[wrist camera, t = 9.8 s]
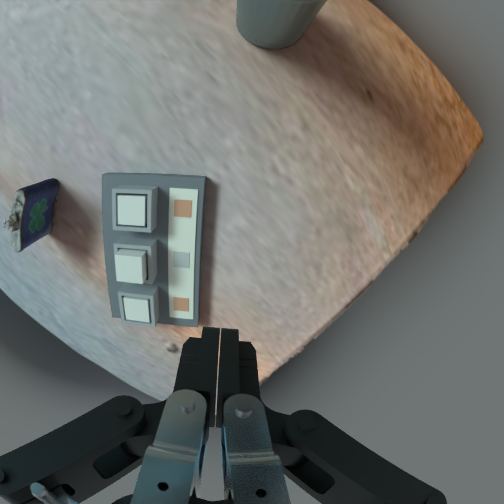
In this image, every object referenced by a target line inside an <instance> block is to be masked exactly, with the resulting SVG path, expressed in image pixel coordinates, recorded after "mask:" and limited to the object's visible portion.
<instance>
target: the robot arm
mask: <svg viewBox="0 0 504 504" xmlns="http://www.w3.org/2000/svg"><path fill="white" fill-rule="evenodd" d="M326 1H327V0H237V14H236V22H237V27H238V30H239V32H240V33H241V35H242V36H243V37H244V38H245V39H246V40H247V41H249V42H251V43H252V44H254V45H256V46H259V47H262V48H267V49H280V48H285V47H288V46H290V45H292V44H294V43H295V42H297V41H298V40H299V39H300V37H301V36H302V34H303V33H304V32H305V30H306V29H307V28H308V26H309V25H310V23H311V22H312V20H313V19H314V18H315V16H316V15H317V13H318V12H319V11H320V9H321V8H322V6H323V5H324V4H325V2H326ZM219 335H220V328H214V327H203V330H202V337H201V338H194V337H190V338H189V339H188V340H187V341H186V342H185V343H184V344H183V348H182V353H181V357H180V363H179V367H178V371H177V376H176V381H175V386H174V390H173V393H172V394H171V395H170V396H169V397H168V398H167V399H166V400H164V401H162V402H159V403H153V404H144V405H142V404H141V403H140V402H139V401H138V400H137V399H135V398H134V397H131V396H125V395H123V396H117V397H114V398H112V399H110V400H109V401H107V402H105V403H103V404H102V405H100V406H98V407H96V408H94V409H93V410H91V411H89V412H87V413H85V414H84V415H82V416H80V417H78V418H77V419H75V420H73V421H71V422H69V423H67V424H65V425H63V426H62V427H59V428H58V429H55V430H54V431H52V432H50V433H48V434H46V435H44V436H42V437H40V438H38V439H36V440H34V441H32V442H30V443H28V444H26V445H24V446H21V447H19V448H17V449H15V450H13V451H11V452H9V453H7V454H5V455H2V456H0V496H1V497H2V498H3V499H5V500H6V501H7V502H8V503H9V504H79V503H81V502H82V501H84V500H86V499H87V498H89V497H91V496H93V495H94V494H96V493H98V492H99V491H101V490H103V489H104V488H106V487H107V486H109V485H111V484H112V483H114V482H116V481H117V480H119V479H120V478H122V477H123V476H125V475H126V474H128V473H129V472H131V471H132V470H134V469H135V468H137V467H138V466H140V465H141V464H142V465H141V469H140V472H139V475H138V479H137V482H136V486H135V489H134V493H133V494H131V495H128V496H125V497H123V498H120V499H118V500H116V501H115V502H113V503H112V504H291V503H290V499H289V495H288V490H287V486H286V482H285V477H284V474H285V475H286V476H287V477H288V478H290V479H291V480H292V481H293V482H295V483H296V484H297V485H298V486H299V487H301V488H302V489H303V490H305V491H306V492H307V493H309V494H310V495H311V496H312V497H314V498H315V499H316V500H318V501H319V502H320V503H322V504H447V501H446V498H445V496H444V494H443V493H442V492H440V491H439V490H437V489H435V488H433V487H432V486H430V485H428V484H426V483H424V482H422V481H421V480H418V479H417V478H415V477H414V476H412V475H410V474H408V473H407V472H405V471H403V470H402V469H400V468H398V467H397V466H395V465H393V464H392V463H390V462H389V461H387V460H385V459H384V458H382V457H381V456H379V455H377V454H376V453H374V452H373V451H371V450H370V449H368V448H367V447H365V446H364V445H362V444H361V443H359V442H358V441H356V440H355V439H353V438H352V437H351V436H349V435H347V434H346V433H345V432H343V431H342V430H341V429H339V428H338V427H336V426H335V425H334V424H332V423H331V422H329V421H328V420H327V419H325V418H324V417H322V416H321V415H320V414H318V413H316V412H314V411H311V410H299V411H296V412H294V413H292V414H291V415H286V414H282V413H278V412H275V411H273V410H271V409H269V408H268V407H266V406H265V405H264V403H263V402H262V400H261V398H260V391H259V380H258V369H257V358H256V350H255V348H254V347H253V345H252V344H251V342H245V341H239V331H238V329H227V328H221V342H220V358H219V375H218V395H217V416H216V427H219V428H221V457H222V469H223V480H224V500H221V501H207V500H204V499H200V488H201V478H202V471H203V464H204V458H205V451H206V445H207V441H208V437H209V427H214V422H215V402H216V384H217V367H218V351H219Z"/></svg>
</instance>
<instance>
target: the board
mask: <svg viewBox="0 0 504 504" xmlns="http://www.w3.org/2000/svg"><path fill="white" fill-rule="evenodd" d="M205 185H206V176H193V175H175V174H151V173H105V174H102V218H103V238H104V252H105V264H106V273H107V282H108V290H109V298H110V305H111V311H112V317H117V318H121V320H122V323H127V324H134V325H141V326H149V327H156V324H157V323H162V324H171V325H181V326H191V327H198V323H199V301H200V270H201V248H202V229H203V213H204V199H205ZM122 193H132V194H148V197H147V224H146V225H145V226H136V225H121V224H118V195H120V194H122ZM121 248H129V249H141V250H147V252H148V276H147V278H146V279H145V281H144V283H143V284H138V283H129V282H120V281H117V277H116V266H115V254H116V253H117V252H118V251H119V250H120V249H121ZM124 296H130V297H138V298H147V299H150V309H151V320H150V322H142V321H134V320H127V319H126V315H125V308H124V299H123V298H124Z"/></svg>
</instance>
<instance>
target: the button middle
mask: <svg viewBox="0 0 504 504" xmlns="http://www.w3.org/2000/svg"><path fill="white" fill-rule="evenodd" d="M115 266H116V277H117V281H120V282H129V283H138V284H143V283H144V281H145V279H146V278H147V276H148V252H147V250H141V249H129V248H121V249H120V250H119V251H118V252H117V253H116V254H115Z"/></svg>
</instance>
